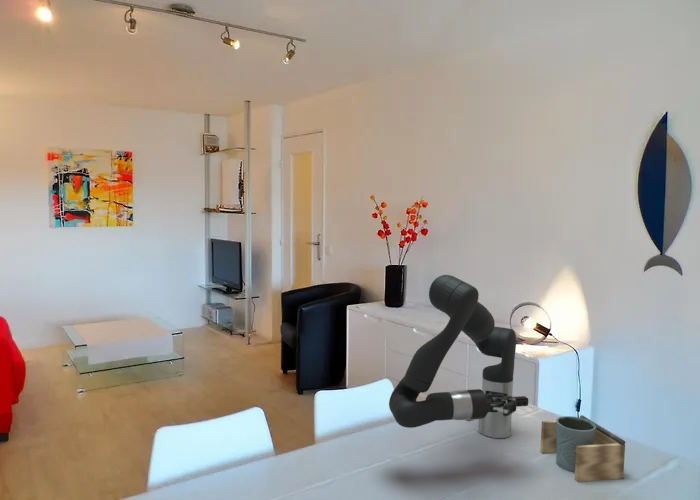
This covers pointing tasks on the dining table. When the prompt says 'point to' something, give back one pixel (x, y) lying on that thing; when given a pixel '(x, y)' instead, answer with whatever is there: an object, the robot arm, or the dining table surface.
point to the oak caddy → (590, 453)
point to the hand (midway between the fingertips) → (526, 400)
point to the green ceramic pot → (572, 439)
